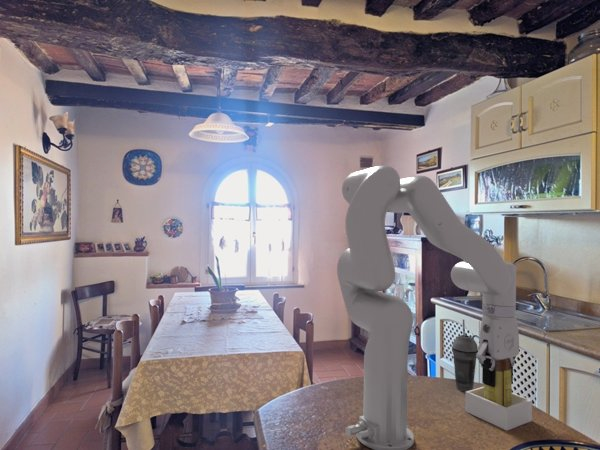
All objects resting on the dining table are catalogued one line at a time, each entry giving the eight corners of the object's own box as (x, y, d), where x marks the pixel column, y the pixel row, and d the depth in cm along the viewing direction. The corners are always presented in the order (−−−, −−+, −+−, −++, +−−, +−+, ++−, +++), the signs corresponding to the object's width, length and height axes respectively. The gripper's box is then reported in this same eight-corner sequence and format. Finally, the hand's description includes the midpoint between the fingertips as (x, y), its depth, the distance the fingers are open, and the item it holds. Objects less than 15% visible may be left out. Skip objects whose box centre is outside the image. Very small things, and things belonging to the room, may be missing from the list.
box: (506, 430, 92) (506, 409, 92) (465, 411, 102) (465, 391, 102) (531, 420, 97) (532, 400, 98) (490, 403, 107) (490, 384, 107)
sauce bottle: (505, 404, 102) (507, 326, 103) (516, 415, 96) (517, 332, 97) (479, 402, 103) (480, 325, 104) (488, 413, 97) (489, 331, 97)
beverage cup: (457, 393, 113) (458, 323, 113) (447, 383, 120) (448, 317, 121) (482, 393, 113) (483, 323, 114) (470, 383, 121) (471, 317, 121)
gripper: (490, 317, 92) (489, 394, 92) (533, 311, 101) (532, 382, 101) (463, 311, 99) (462, 383, 99) (505, 305, 108) (504, 372, 107)
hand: (497, 382), depth 100 cm, fingers closed on sauce bottle, 6 cm apart
